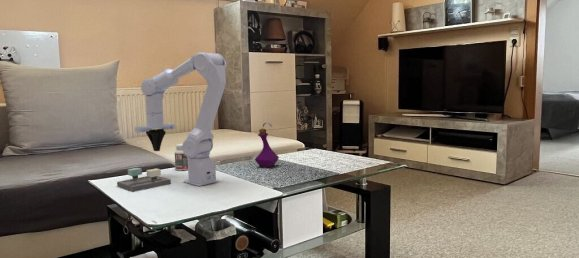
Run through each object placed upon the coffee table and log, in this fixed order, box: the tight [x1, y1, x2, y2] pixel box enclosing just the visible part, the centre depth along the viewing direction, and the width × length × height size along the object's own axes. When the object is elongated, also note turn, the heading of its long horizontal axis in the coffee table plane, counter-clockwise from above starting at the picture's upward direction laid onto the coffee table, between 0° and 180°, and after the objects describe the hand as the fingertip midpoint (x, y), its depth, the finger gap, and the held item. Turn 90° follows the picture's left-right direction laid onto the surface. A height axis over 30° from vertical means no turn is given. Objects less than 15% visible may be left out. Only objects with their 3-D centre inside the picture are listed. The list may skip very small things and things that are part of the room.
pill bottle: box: [174, 143, 188, 172], centre depth 165 cm, size 6×6×10 cm
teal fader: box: [127, 167, 143, 179], centre depth 143 cm, size 3×4×3 cm
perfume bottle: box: [254, 121, 280, 169], centre depth 167 cm, size 8×8×18 cm
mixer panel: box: [116, 175, 172, 192], centre depth 141 cm, size 11×14×2 cm
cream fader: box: [146, 168, 162, 180], centre depth 141 cm, size 3×4×3 cm
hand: (156, 150), depth 150 cm, fingers closed
